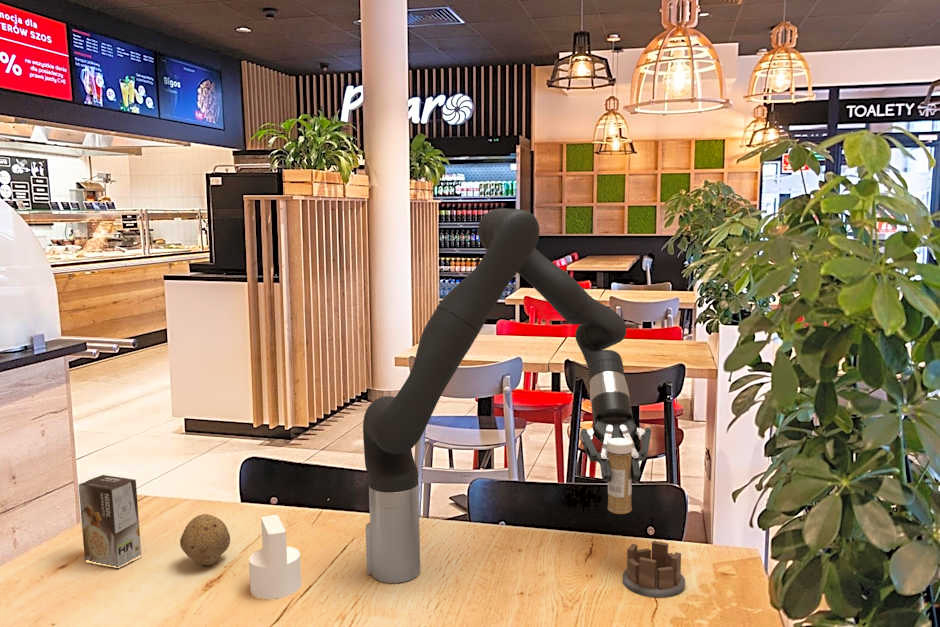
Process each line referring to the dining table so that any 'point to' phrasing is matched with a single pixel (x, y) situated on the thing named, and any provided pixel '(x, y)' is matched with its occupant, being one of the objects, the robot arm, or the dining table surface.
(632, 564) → the castellated collar
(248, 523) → the dining table surface
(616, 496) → the sprinkles bottle
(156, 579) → the dining table surface
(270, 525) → the base with upright slab
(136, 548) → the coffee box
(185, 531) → the brown potato
